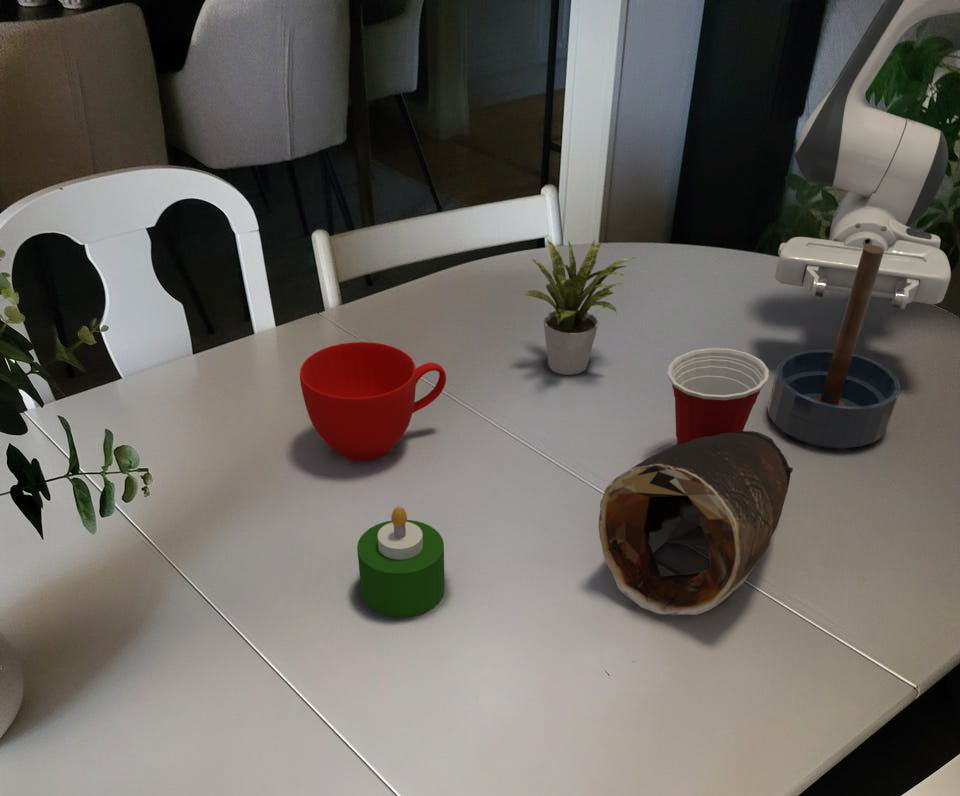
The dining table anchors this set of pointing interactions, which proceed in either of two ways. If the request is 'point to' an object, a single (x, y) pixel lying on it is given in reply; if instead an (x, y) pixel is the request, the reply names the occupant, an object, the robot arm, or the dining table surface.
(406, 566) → the candle
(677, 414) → the plastic cup
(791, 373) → the bowl
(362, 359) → the ceramic cup
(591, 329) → the house plant
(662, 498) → the brown hollow cylinder
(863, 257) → the stirring stick
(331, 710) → the dining table surface
